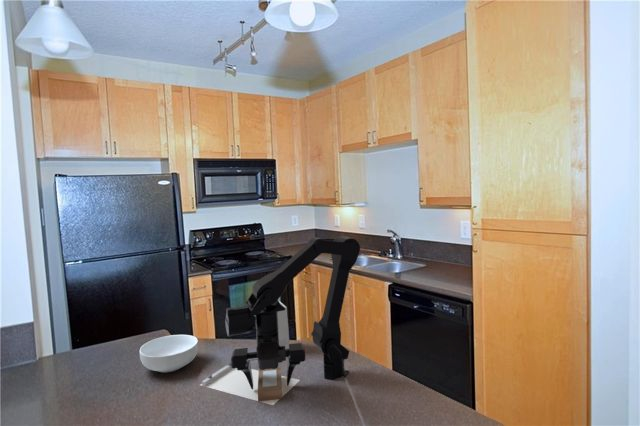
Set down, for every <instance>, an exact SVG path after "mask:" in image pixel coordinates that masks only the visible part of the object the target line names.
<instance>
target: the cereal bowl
mask: <svg viewBox="0 0 640 426" xmlns="http://www.w3.org/2000/svg"><path fill="white" fill-rule="evenodd" d="M198 351H199V341H198V338H197V337H196V336H194V335H190V334H172V335H165V336H161V337H157V338H154V339H151V340H150V341H147V342H145V343H144V344H143V345H141V346H140V349H139V359H140V362H141V364H142V365H143V366H144V367H145V368H146V369H148V370H150V371H155V372H158V373H159V372H160V373H163V374H164V373H171V372H176V371H177V370H179V369H181V368H184V367H185V366H186V365H189V363H191V362H192V361H193V360H194V359H195V358H196V356H197V354H198Z"/></svg>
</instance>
